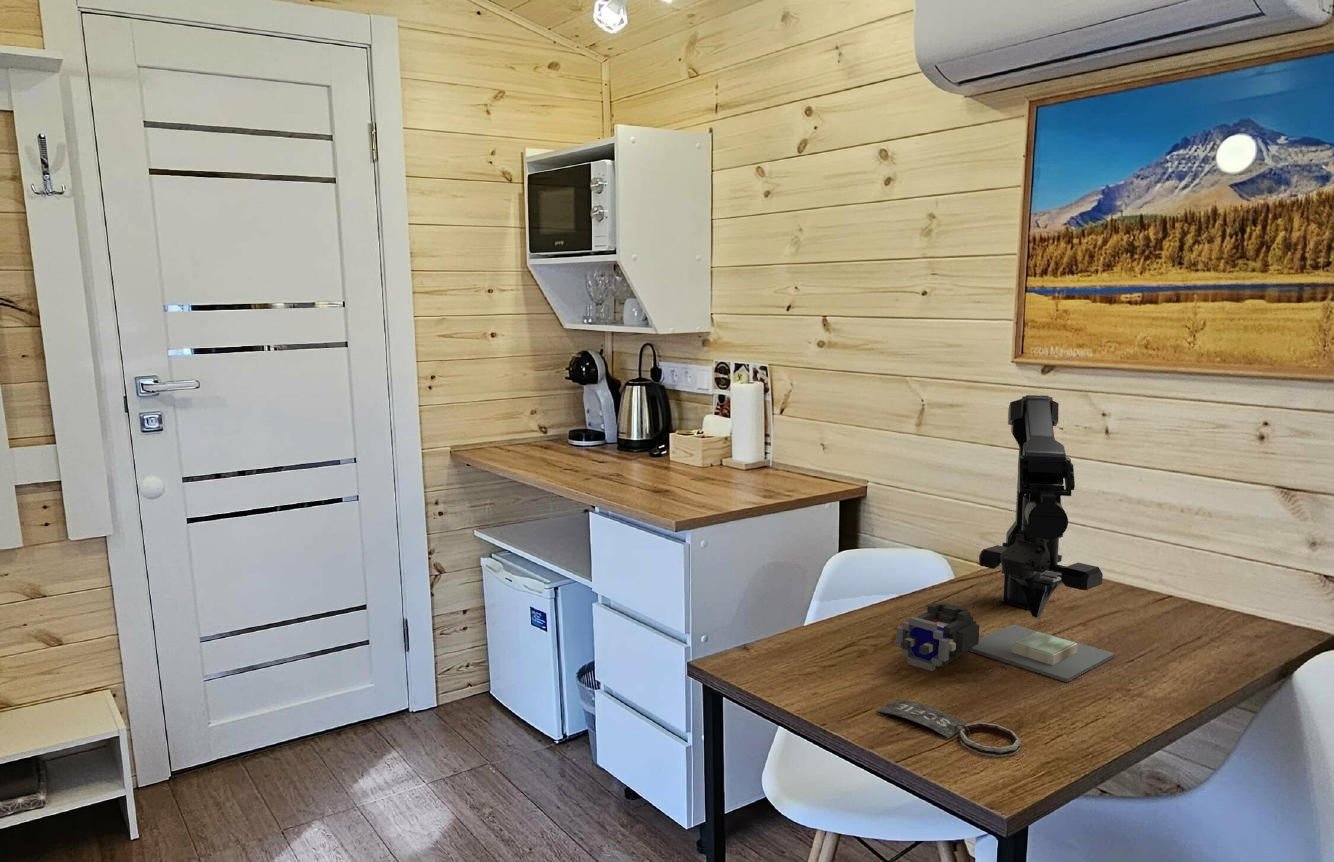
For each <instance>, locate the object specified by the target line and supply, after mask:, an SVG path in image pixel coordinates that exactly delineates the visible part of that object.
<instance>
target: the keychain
mask: <svg viewBox="0 0 1334 862" xmlns="http://www.w3.org/2000/svg"><path fill="white" fill-rule="evenodd" d="M875 711H876V712H875V713H876V714H878V715H880V716H882V717H884V718H887V717H889V716H890V715H893V716H897V717H900V718H903V719H905V720H909V721H911V722H914V723H916V724H919V725H922V726H924V727H926V728H929V729H931V730H933V731H935V732H936V733H938V734H939V736H938V737H939V738H941V739H946V740H950V739H951V738H952V737H954V736H955V735H958V738H959V741H960V744H961V746H963V747H965V748H966V749H968V750H970V751H971V752H973V753H975V754H980V755H983V756H988V757H992V758H1001V757H1012V756H1014V755H1015V754H1016V753H1018V752H1019V751H1020V750H1021V746H1020V744H1021V742H1022V740H1021V739H1020V737H1018V735H1017V734H1016V733H1015V731H1013V730H1011V729H1009V728H1007V727H1004V726H1001V725H1000V724H995V723H988V722H973V723H968V722H965V721H963V720H961V719H960V718H958V717H956V716H955V715H954V716H953V715H952V714H950V713H948V712H945V711H943V710H940V709H937V708H934V707H932V706H929V705H926V704H922V703H919V702H915V701H912V700H905V699H899V698H897V699H895V700H893V701H891V702H890V703H887V704H886V705H885V706H882V707H881V708H879V709H877V710H875ZM982 732H986V733H991V734H994V735H1000V736H1002V737H1004V738H1006V739H1007V740H1009V741H1011V742H1012V744H1011V745H1006V746H1001V747H996V746H989V745H982V744H980V743H978V742H976V741H973V740H971V739H969V738H968V737H969V736H970V734H971V733H982Z"/></svg>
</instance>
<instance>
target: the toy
mask: <svg viewBox="0 0 1334 862" xmlns="http://www.w3.org/2000/svg"><path fill="white" fill-rule="evenodd" d="M971 614H972V613H971V611H970V610H969V611H968V608H966V607H962V606H958V605H954V604H950V603H946V602H942V603H938V602H933V603H931V604H928V605H927V610H926V612H923V613H921V614H920V615H917V616H910V617H909V618H908V620H907V621H903V622H902V625H900V626H897V627H896V634H895V635H896V637H895V638H896V641H895V648H898V649H901V656H903V657H906V658H907V664H908V665H910V666H911V665H912V666H914V667H918V668H921V669H924V670H927V671H930V672H933V671H934V670H936V668H938V669H941V668H942V667H944V666H946V665H947V664H949V663H951V662H954V660H957V658H959V657H961V656H962V655H965V654H966V653H967V652H968V650H970V649H972V647H974V646H976V645H977V644H979V638H980V624H978V623H977V621H975V620H974V616H972V615H971Z"/></svg>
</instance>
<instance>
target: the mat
mask: <svg viewBox="0 0 1334 862" xmlns="http://www.w3.org/2000/svg"><path fill="white" fill-rule="evenodd" d="M1036 632H1040V633H1044V632H1042V631H1038V630H1034V629H1031V628H1027V627H1024V626H1020V625H1018V624H1010V625H1008V626H1005V627H1003V628H1001V629H999V630H997V631H993V632H991V633H989V634H987V635H984V636H982V637H979V644H977V645H976V646H974V647H972V649H970V650H968V651H969V652H972V653H975V654H978V655H981V656H984V657H987V658H990V659H994V660H996V661H999V662H1002V663H1006V664H1008V665H1011V666H1014V667H1018V668H1021V667H1022V668H1021V669H1025V670H1027V671H1031V672H1034V673H1036V672H1037V674H1039V673H1041V674H1040V675H1043V676H1045V675H1046V677H1049V676H1050V677H1049V678H1051V679H1055V680H1058V679H1059V680H1058V681H1062V682H1065V683H1069V682H1071V681H1073V680H1074V678H1075V679H1077V678H1078V677H1080V676H1082V675H1084V674H1086V673H1087V671H1088V670H1090V669H1091V670H1094V669H1095V668H1097V667H1099V666H1101V665H1102V664H1105V663H1106V662H1108V661H1110V660H1112V659H1113V658H1115V657H1116V653H1115V652H1112V651H1108V650H1105V649H1100V648H1097V647H1094V646H1090V645H1086V644H1083V643H1079V642H1076V641H1073V640H1069V639H1065V638H1062V637H1060V636H1055V635H1052V634H1049V633H1046V632H1045V633H1044V634H1047V635H1051V636H1054V637H1058V638H1061V639H1065V640H1068V641H1072V642H1075V643H1077V644H1078V645H1077V653H1076V654H1074V655H1072V656H1070V657H1068V658H1066V659H1064V660H1062V661H1060V662H1058V663H1056V664H1054V665H1050V664H1047V663H1044V662H1041V661H1038V660H1034V659H1031V658H1028V657H1025V656H1022V655H1018V654H1015V653H1012V643H1014V642H1016V641H1018V640H1020V639H1023V638H1025V637H1027V636H1029V635H1031V634H1034V633H1036ZM968 651H967V652H968ZM1094 667H1095V668H1094ZM1091 670H1090V671H1091ZM1085 672H1086V673H1085ZM1088 672H1089V671H1088ZM1083 673H1084V674H1083ZM1081 674H1082V675H1081ZM1079 675H1080V676H1079ZM1077 676H1078V677H1077ZM1076 677H1077V678H1076ZM1072 679H1073V680H1072ZM1068 681H1069V682H1068Z"/></svg>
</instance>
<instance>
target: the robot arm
mask: <svg viewBox="0 0 1334 862" xmlns="http://www.w3.org/2000/svg"><path fill="white" fill-rule="evenodd" d="M1059 407H1060V406H1059V402H1057V401H1055V400H1053V397H1052V396H1049V395H1044V394H1043V395H1039V394H1037V395H1036V394H1034V395H1033V394H1029V395H1028V394H1027V395H1025V396H1022V398H1020V399H1017V400H1016V399H1015V400H1013V401H1011V402H1010V403H1009V405H1008V410H1007V411H1008V412H1007V413H1008V414H1007V425H1008V426H1010V427H1011V430H1010V431H1011V434H1012V436H1013V437H1014V439H1015V441H1016V443H1017V445H1018V459H1017V485H1016V486H1017V487H1016V500H1015V501H1016V506H1015V520H1014V522H1013V523H1012V525H1011V526H1010V527H1009V528H1008V530H1007V531H1006V535H1005V536H1006V537H1005V538H1006V539H1005V542H1002V545H999V544H996V545H993V546H990V547H987V548H984V549H982V550H981V551H980V552H979V555H978V565H979V567H984V568H988V569H992V570H995V569H996V568H998V567H1000V568H999V569H1000V573H1001V574H1003V575H1004V576H1003V577H1004V578H1003V579H1004V580H1003V597H1001V598H998V602H999V603H1002V604H1006V605H1010V606H1014V607H1017V608H1020V609H1025V610H1028V611H1030V615H1031V617H1032V618H1039V617H1040V616H1041V615H1042V613H1043V611H1044V609H1045V608H1046V605H1047V604H1048V602H1049V599H1050V598H1051V596H1052V594H1053V593H1054V591H1055V590H1056V589H1057V587H1058V586H1059V585H1060V584H1063V585H1064V587H1068V588H1070V589H1071V588H1072V589H1076V590H1080V591H1088V590H1091V589H1093V588H1096V587H1099V586H1101V585H1102V584H1103V578H1104V577H1103V575H1104V574H1103V572H1102V571H1101V568H1100V567H1099V566H1097V565H1096V566H1095V565H1091V564H1086V563H1082V562H1076V563H1073V564H1070V565H1061V564H1058V563H1062V561H1063V560H1062V558H1063V556H1062V554H1059V543H1060V542H1059V541H1060V539H1061V538H1064V534H1065V532H1066V531H1067V528H1068V525H1069V518H1068V515H1067V512H1066V511H1065V509H1064V508H1063V505H1062V498H1061V497H1071V496H1072V491H1074V490H1075V488H1076V487H1075V486H1076V484H1075V472H1074V471H1075V470H1074V463H1072V461H1071V460H1072V459H1071V458H1070V457H1067V453H1066V450H1065V445H1063V444H1062V443H1061V442H1060V441H1057V440H1056V439H1055V432H1054V427H1057V425H1058V424H1059Z"/></svg>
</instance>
